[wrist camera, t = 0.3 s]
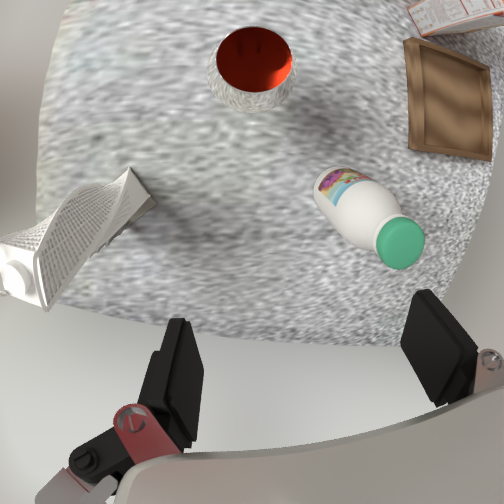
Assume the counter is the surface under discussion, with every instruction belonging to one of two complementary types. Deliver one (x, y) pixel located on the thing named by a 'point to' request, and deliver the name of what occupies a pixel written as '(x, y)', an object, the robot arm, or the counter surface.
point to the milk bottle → (368, 216)
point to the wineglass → (252, 69)
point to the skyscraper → (69, 238)
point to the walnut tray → (448, 101)
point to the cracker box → (456, 16)
